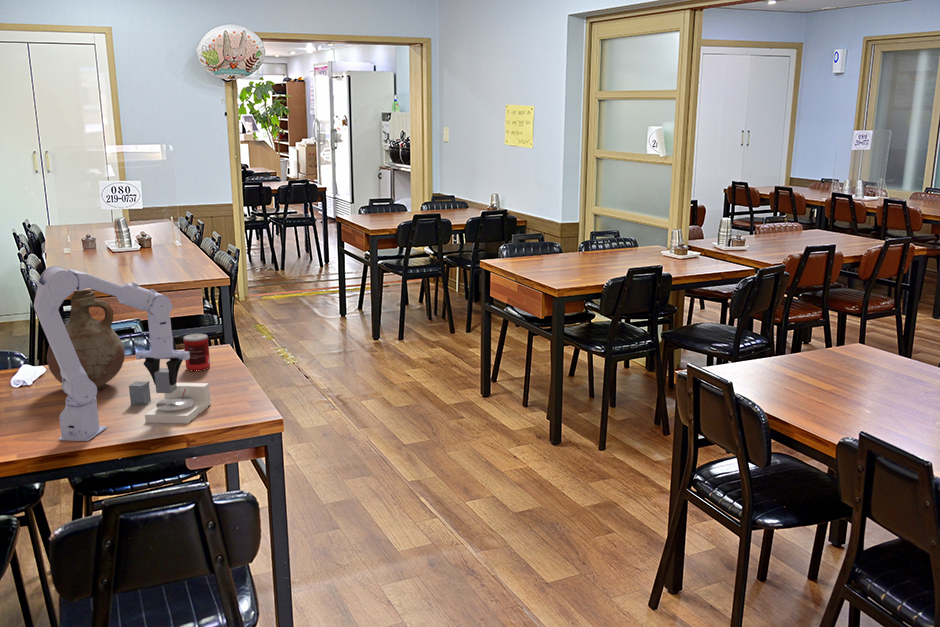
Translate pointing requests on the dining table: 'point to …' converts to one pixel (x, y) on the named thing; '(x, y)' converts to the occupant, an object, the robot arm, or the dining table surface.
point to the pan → (175, 403)
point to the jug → (91, 341)
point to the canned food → (197, 351)
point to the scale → (185, 415)
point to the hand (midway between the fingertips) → (165, 384)
